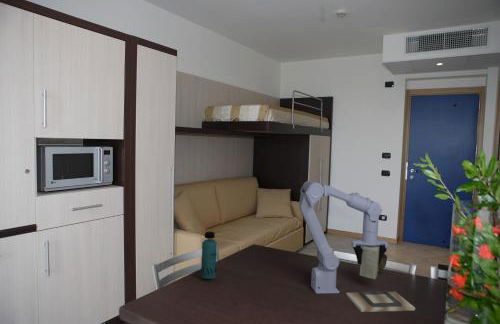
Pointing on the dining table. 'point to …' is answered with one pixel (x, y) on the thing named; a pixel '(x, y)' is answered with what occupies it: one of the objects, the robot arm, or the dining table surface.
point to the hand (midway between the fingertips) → (368, 263)
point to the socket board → (379, 301)
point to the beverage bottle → (209, 256)
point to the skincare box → (369, 261)
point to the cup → (382, 263)
